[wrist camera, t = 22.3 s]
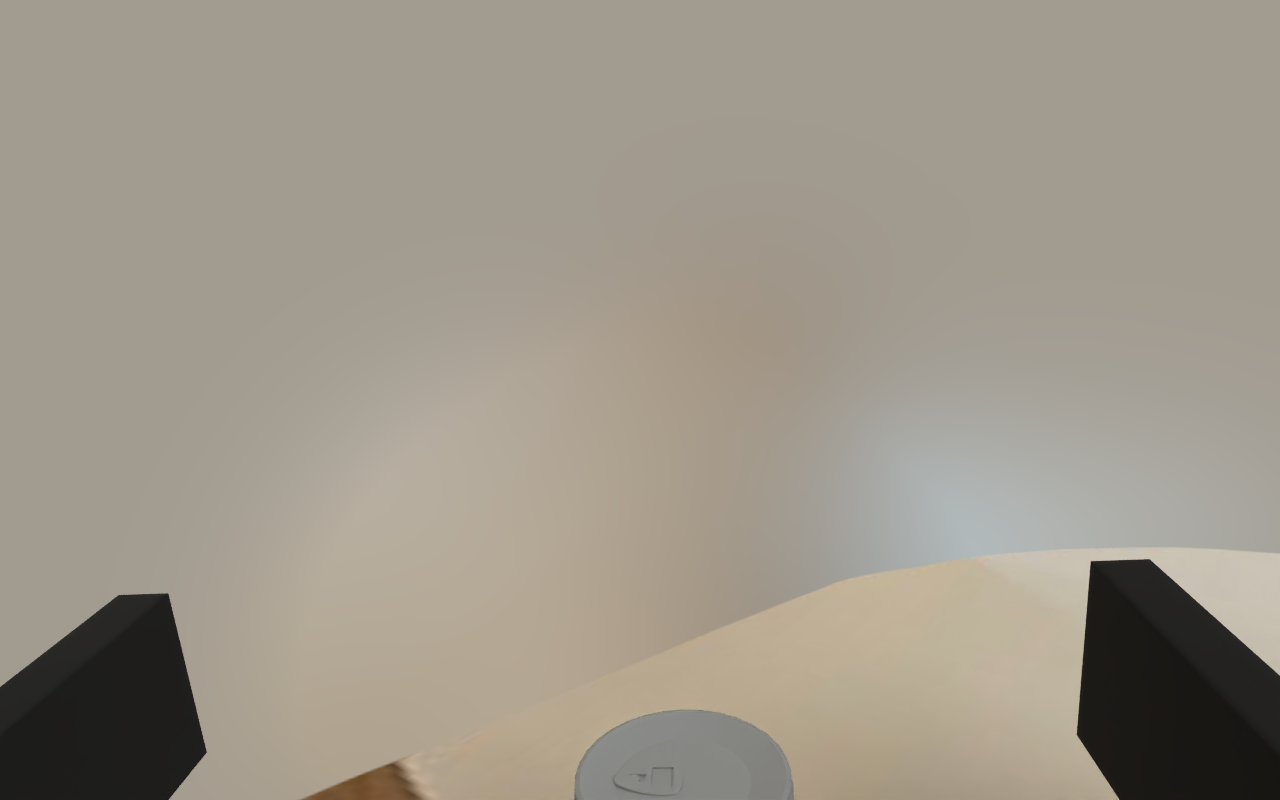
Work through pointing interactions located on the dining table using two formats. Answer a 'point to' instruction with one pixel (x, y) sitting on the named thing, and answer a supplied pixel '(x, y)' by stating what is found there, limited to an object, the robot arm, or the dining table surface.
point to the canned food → (684, 760)
